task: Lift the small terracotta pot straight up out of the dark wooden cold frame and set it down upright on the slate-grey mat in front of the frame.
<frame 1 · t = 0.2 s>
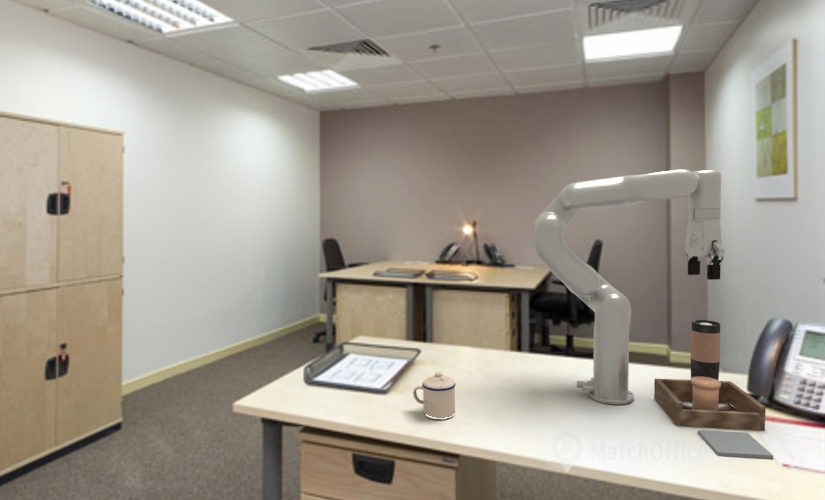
hand: (703, 276, 134), 36 cm above the table, tool pointing down, fingers open, 9 cm apart
cold frame: (704, 413, 128), on the table
slate mat: (733, 445, 111), on the table
travel mug: (704, 387, 148), on the table
terracotta pot: (705, 397, 128), in the cold frame
teacup with lid: (434, 414, 132), on the table
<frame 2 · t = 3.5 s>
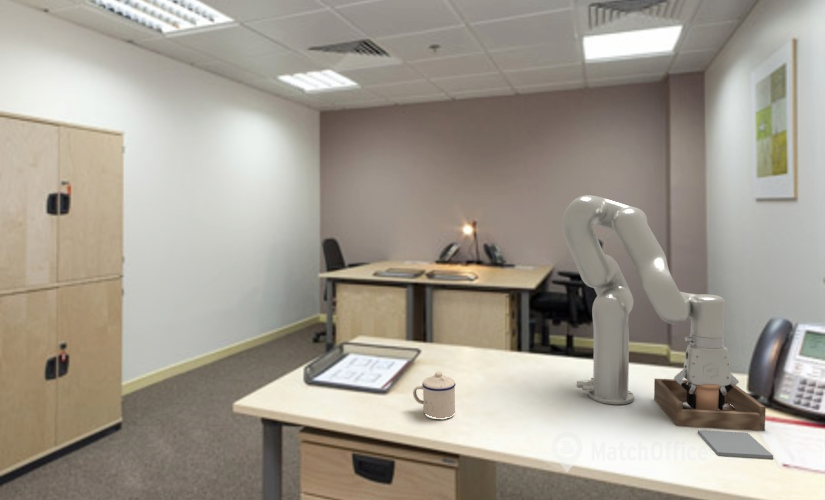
hand: (705, 406, 128), 2 cm above the table, tool pointing down, fingers closed on terracotta pot, 6 cm apart
terracotta pot: (705, 397, 128), in the cold frame, touching gripper
everything else where it was.
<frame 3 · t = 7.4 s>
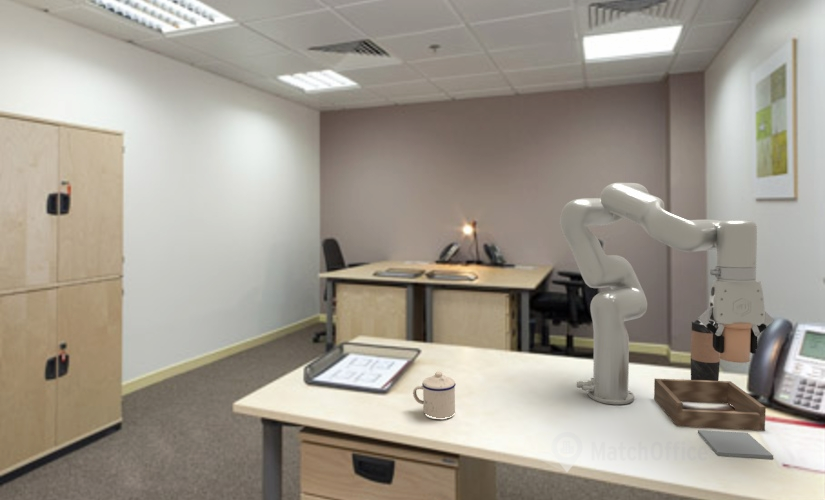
hand: (734, 351, 111), 22 cm above the table, tool pointing down, fingers closed on terracotta pot, 6 cm apart
terracotta pot: (734, 339, 110), point 25 cm above the table, touching gripper
everything else where it was.
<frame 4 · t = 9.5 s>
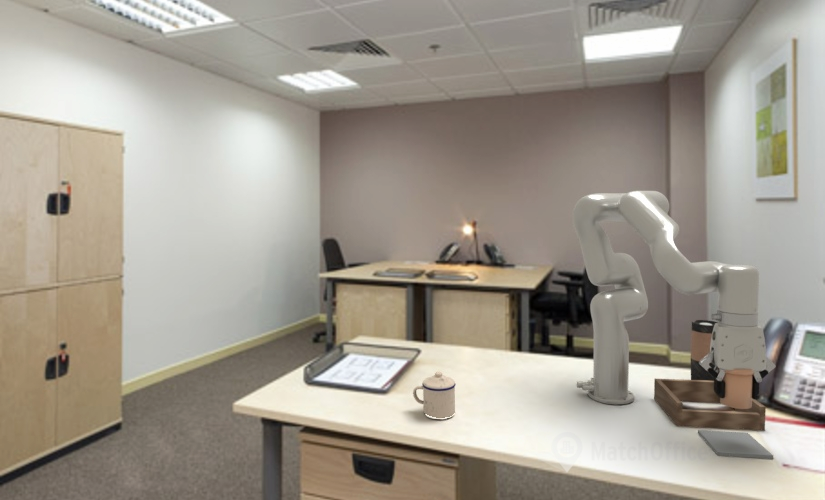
hand: (735, 396, 110), 12 cm above the table, tool pointing down, fingers closed on terracotta pot, 6 cm apart
terracotta pot: (736, 384, 110), point 14 cm above the table, touching gripper
everything else where it was.
when the fingers open (4 cm above the table, at t = 11.5 s): terracotta pot drops 1 cm, resting on slate mat.
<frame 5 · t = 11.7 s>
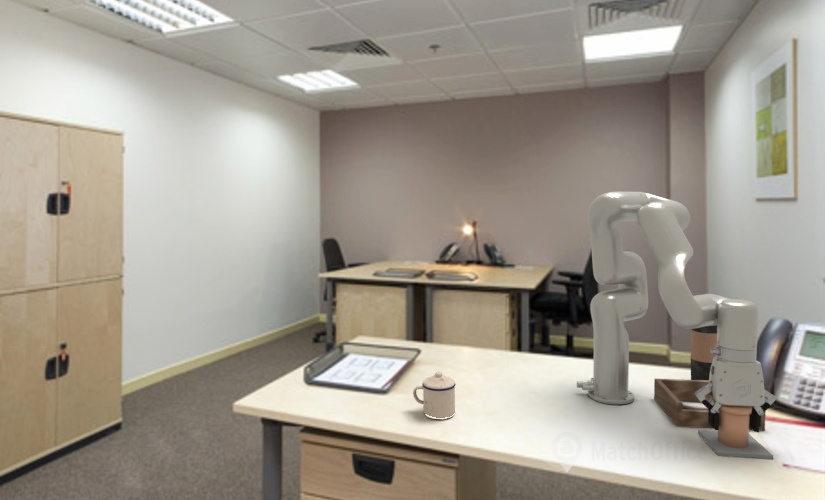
hand: (733, 428, 111), 4 cm above the table, tool pointing down, fingers open, 7 cm apart
terracotta pot: (733, 423, 111), on the slate mat, point 5 cm above the table
everything else where it was.
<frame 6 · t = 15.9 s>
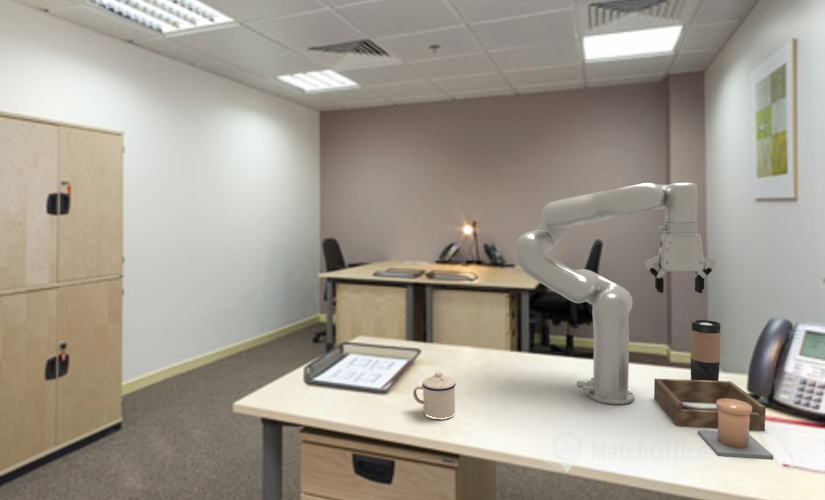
hand: (679, 292, 130), 32 cm above the table, tool pointing down, fingers open, 9 cm apart
nothing on the table moved.
at the end: terracotta pot inside the target area on the slate mat (0.1 cm from its centre), point 5.3 cm above the slate mat's base; terracotta pot tilted 0°; the gripper is holding nothing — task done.
